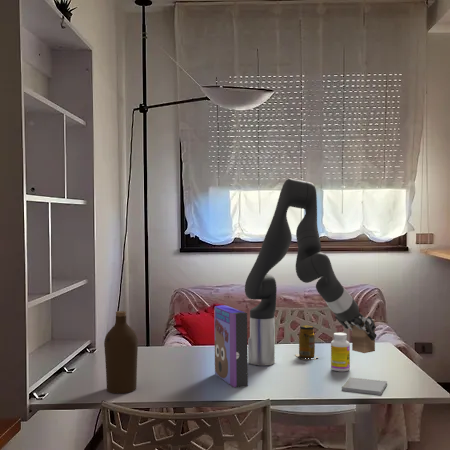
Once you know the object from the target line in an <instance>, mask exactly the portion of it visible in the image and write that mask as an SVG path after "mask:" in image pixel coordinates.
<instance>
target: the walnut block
mask: <svg viewBox="0 0 450 450" xmlns="http://www.w3.org/2000/svg"><path fill="white" fill-rule="evenodd" d="M372 320H373V322H374V324H375V325H376V320H375V319H373V318H372ZM362 324H364V322H363V323H362ZM361 326H362V325H361ZM365 329H366V330H367V327H365ZM374 332H375V333H376V329H375V330H374ZM351 335H352V336H351V339H352V340H351V348H352V349H351V351H354V352H358V353H362V354H367V353H368V354H369V353H373V352H375V351H376V339H375V340H374V341H372V340H371V339H370V338H369V336H368V335H367V334H366V333H365V332H364V331H363V330H360V329H359V328H357V327H356V326H353V329H352V331H351Z"/></svg>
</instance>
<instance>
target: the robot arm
mask: <svg viewBox="0 0 450 450" xmlns="http://www.w3.org/2000/svg"><path fill="white" fill-rule="evenodd" d="M289 208H297V209H303V210H304V211H305V214H304V216H303V218H302V219H301V220H300V222H299V223H298V225H297V228H296V232H295V233H296V234H295V237H296V243H297V253H296V254H297V255H296V260H295V273H296V275H297V278H298V280H300V281H301V282H303V283H305V284H307V283H311V282H314V281H316V280H317V282H316V283H315V290H316V292H317V293H318V294H319V295H320V297H321V298H322V299H323V300H324V302H325V303H326V304H327V307H328V308H329V309H330V311H332V312H331V313H333V314H334V315H335V316H334V318H335V320H337V321H338V322H339V323H340V324H341V325H342V326H343V327H344V328H345V329H347V330H350V331H351V332H352V329H353V326H356V327H357V328H359V329H360V330H363V331H364V332H365V333H366V334H367V335H368V336H369V338H370V339H371V340H372V341H374V340H375V341H376V338H377V337H378V335H377V334H376V327H377V326H376V323H375V324H374V322H373V320H374V319H373V318H372V317H371V316H367V317H365V316H364V315H363V314H362V313H361V312H360V307H359V305H358V303H357V301H356V300H355V299H354V298H353V297H352V295H351V294H350V293H349V291H348V290H347V289H346V288H345V287H344V286H343V285H342V284H341V282H340V280H339V279H338V278H337V276H336V274H335V271H334V269H333V265H332V262H331V260H330V258H329V256H328V255H327V254H326V253H323V252H321V251H322V244H321V239H320V233H319V229H318V196H317V189H316V185H315V184H314V183H313V182H309V181H305V180H301V179H295V178H287V179H286V180H285V181H284V183H283V185H282V187H281V190H280V193H279V196H278V199H277V203H276V207H275V210H274V214H273V217H272V218H271V222H270V224H269V226H268V228H267V231H266V234H265V236H264V238H263V241H262V245H261V247H260V250H259V253H258V255H257V257H256V260H255V262H254V264H253V266H252V268H251V269H250V272H249V274H248V275H247V277H246V279H245V285H244V294H245V296H246V297H247V298H248V299H249V300H254V301H255V300H260V302H259V303H258V304H257V305H256V306H254V307H253V308H251V309H250V310H249V337H247V350H248V364H251V365H255V366H263V367H264V366H270V365H272V366H273V365H274V364H275V362H276V360H275V359H276V358H275V357H276V356H275V354H276V352H275V351H276V350H275V349H276V347H275V344H276V342H275V340H276V339H275V336H276V335H275V313H276V310H277V309H276V308H277V287H278V286H277V281H276V278H275V277H274V276H273V274H270V273H269V272H270V271H271V270H272V269H273V268H274V267H275V266H276V265H277V264H279V263H280V262H281V261H282V260H283V259H284V258H285V256H286V255H287V254H288V253H287V252H288V251H289V248H290V247H291V243H292V239H293V236H292V235H293V234H292V231H291V228H290V225H289V222H288V217H287V215H288V210H289ZM372 319H373V320H372ZM363 322H364V324H362V323H363ZM361 325H362V326H361ZM365 327H367V330H366V329H365ZM374 330H375V332H374Z"/></svg>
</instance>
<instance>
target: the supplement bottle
mask: <svg viewBox="0 0 450 450" xmlns="http://www.w3.org/2000/svg"><path fill="white" fill-rule="evenodd" d="M347 338H348V334H347V333H346V332H334V333H333V340H332V341H330V370H332V371H334V372H342V373H343V372H349V370H350V368H351V359H350V357H351V356H350V355H351V352H350V348H351V347H350V346H351V344H350V341H348V340H347Z"/></svg>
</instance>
